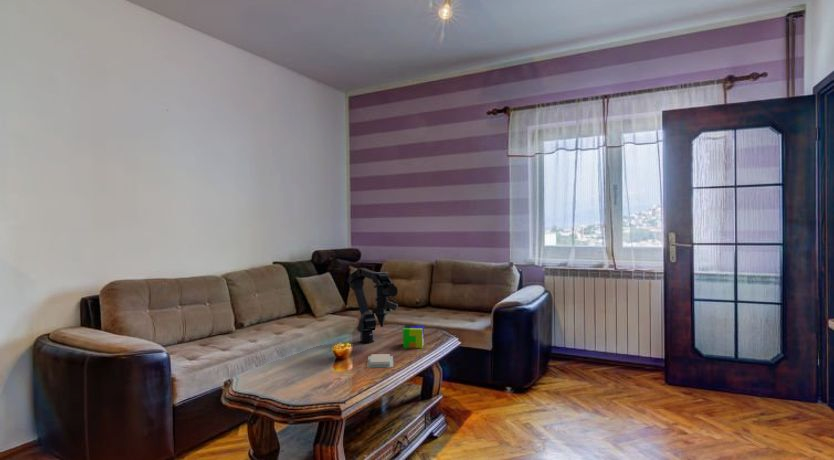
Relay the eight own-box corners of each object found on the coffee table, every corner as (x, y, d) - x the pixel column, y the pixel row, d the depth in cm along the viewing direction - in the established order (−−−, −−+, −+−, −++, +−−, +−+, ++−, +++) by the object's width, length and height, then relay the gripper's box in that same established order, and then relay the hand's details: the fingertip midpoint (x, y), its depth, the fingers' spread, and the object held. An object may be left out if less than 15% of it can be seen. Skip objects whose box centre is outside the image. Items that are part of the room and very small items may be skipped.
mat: (368, 357, 224) (368, 356, 224) (392, 356, 225) (392, 355, 225) (366, 368, 207) (366, 367, 207) (393, 367, 208) (393, 366, 208)
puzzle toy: (423, 343, 249) (423, 325, 249) (422, 348, 239) (422, 329, 239) (405, 343, 250) (405, 325, 250) (403, 348, 240) (403, 329, 240)
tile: (371, 354, 220) (370, 362, 208) (389, 354, 220) (389, 361, 208) (371, 358, 220) (370, 366, 208) (389, 358, 220) (389, 366, 208)
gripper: (393, 296, 230) (393, 328, 228) (400, 295, 248) (400, 324, 247) (371, 297, 232) (371, 328, 230) (380, 296, 250) (380, 325, 248)
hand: (382, 326), depth 239 cm, fingers closed
